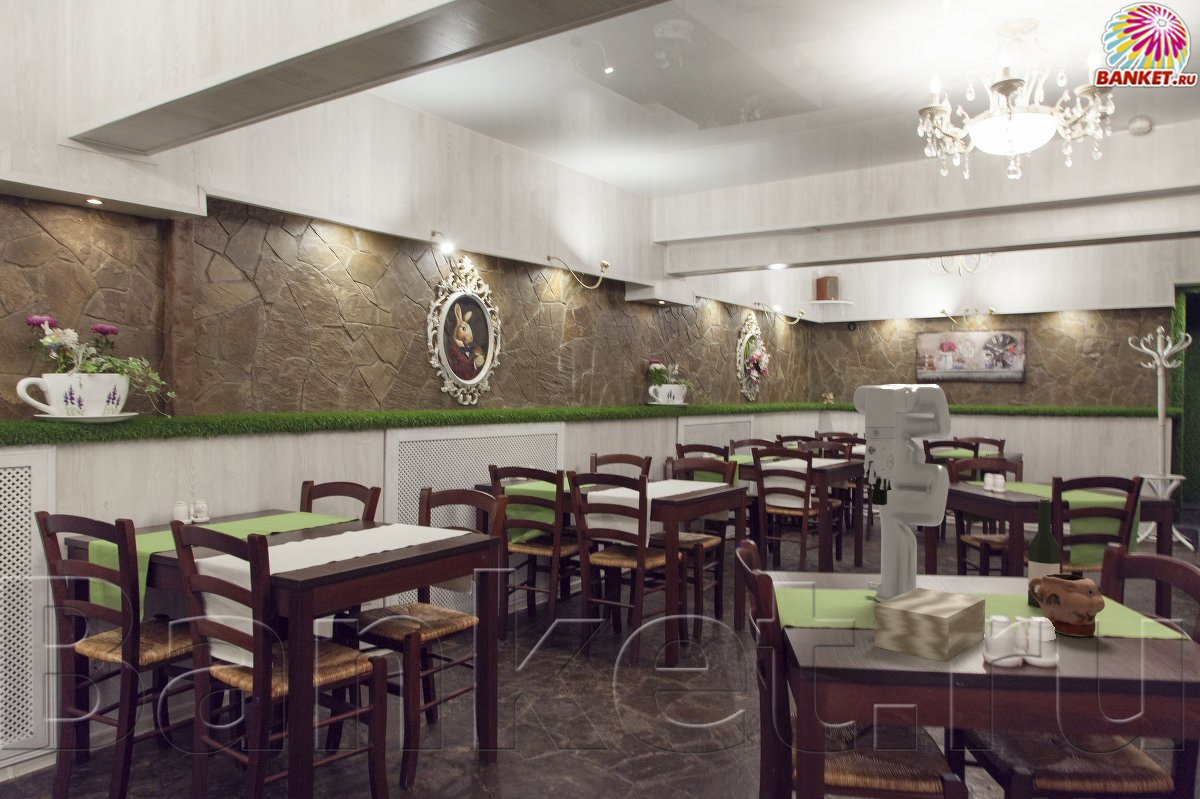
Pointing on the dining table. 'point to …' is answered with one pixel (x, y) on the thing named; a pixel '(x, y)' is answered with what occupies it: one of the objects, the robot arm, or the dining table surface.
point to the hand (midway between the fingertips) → (879, 504)
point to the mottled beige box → (929, 623)
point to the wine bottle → (1042, 550)
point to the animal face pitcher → (1068, 602)
